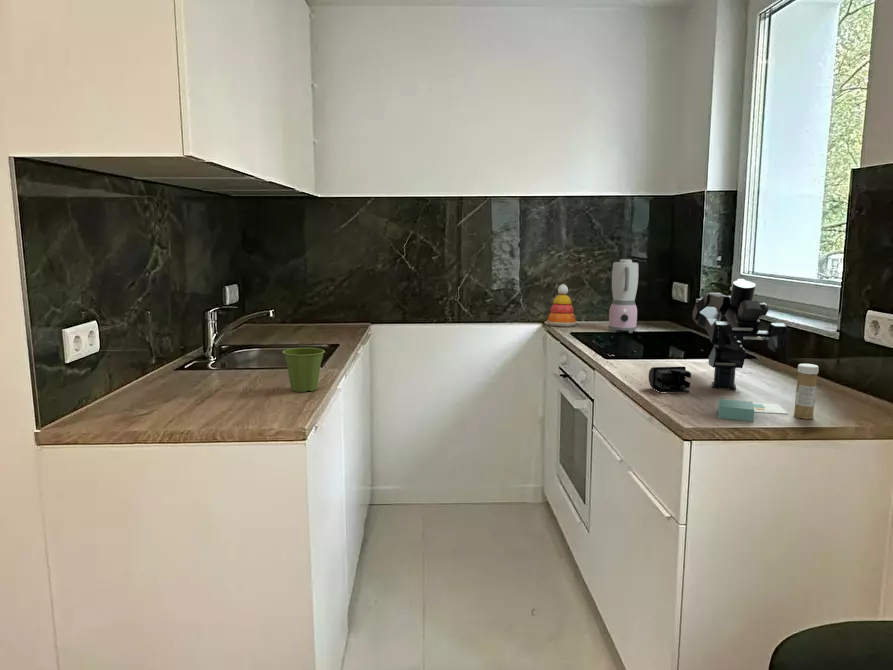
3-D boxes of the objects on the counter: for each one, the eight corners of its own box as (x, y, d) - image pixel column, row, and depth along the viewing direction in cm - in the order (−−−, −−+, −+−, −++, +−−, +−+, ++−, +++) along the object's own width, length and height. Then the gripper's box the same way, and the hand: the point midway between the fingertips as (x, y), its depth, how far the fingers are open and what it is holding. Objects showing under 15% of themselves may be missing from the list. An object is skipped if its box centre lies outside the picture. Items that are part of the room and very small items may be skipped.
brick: (717, 409, 176) (718, 398, 176) (751, 413, 174) (752, 401, 173) (718, 418, 169) (719, 406, 169) (753, 421, 166) (754, 409, 166)
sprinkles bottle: (796, 413, 174) (801, 362, 171) (815, 417, 171) (821, 364, 168) (790, 417, 170) (795, 364, 168) (810, 421, 167) (815, 367, 165)
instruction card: (730, 402, 184) (730, 401, 184) (777, 405, 182) (777, 403, 182) (738, 411, 175) (738, 410, 175) (788, 414, 173) (788, 413, 173)
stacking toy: (573, 328, 312) (575, 286, 309) (543, 326, 317) (544, 285, 314) (579, 324, 325) (580, 283, 322) (549, 322, 330) (551, 282, 327)
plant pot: (325, 393, 190) (324, 354, 188) (282, 395, 188) (280, 355, 186) (325, 384, 201) (325, 346, 199) (284, 385, 199) (283, 347, 197)
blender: (607, 328, 313) (610, 258, 308) (634, 329, 311) (638, 259, 306) (609, 333, 297) (613, 260, 292) (638, 334, 295) (642, 261, 290)
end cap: (678, 386, 202) (680, 364, 201) (691, 392, 195) (692, 369, 194) (647, 387, 200) (648, 365, 199) (658, 393, 193) (660, 370, 192)
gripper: (710, 294, 185) (725, 320, 171) (781, 295, 183) (802, 322, 170) (704, 330, 190) (717, 358, 177) (773, 332, 188) (792, 360, 175)
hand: (757, 349), depth 174 cm, fingers open, 9 cm apart
